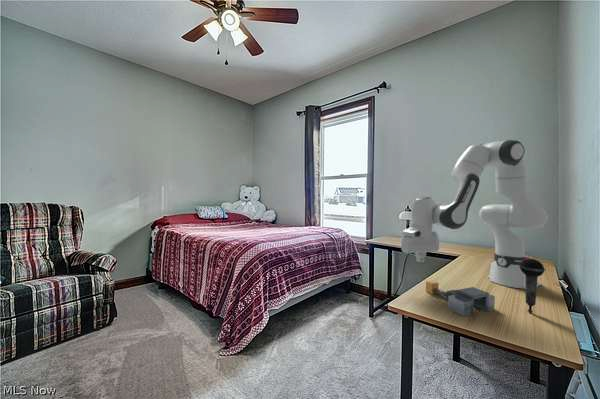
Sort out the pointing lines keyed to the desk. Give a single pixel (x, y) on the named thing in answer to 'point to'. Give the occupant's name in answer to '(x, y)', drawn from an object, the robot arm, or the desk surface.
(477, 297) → the block
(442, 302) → the desk surface
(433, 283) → the plug
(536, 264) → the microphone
